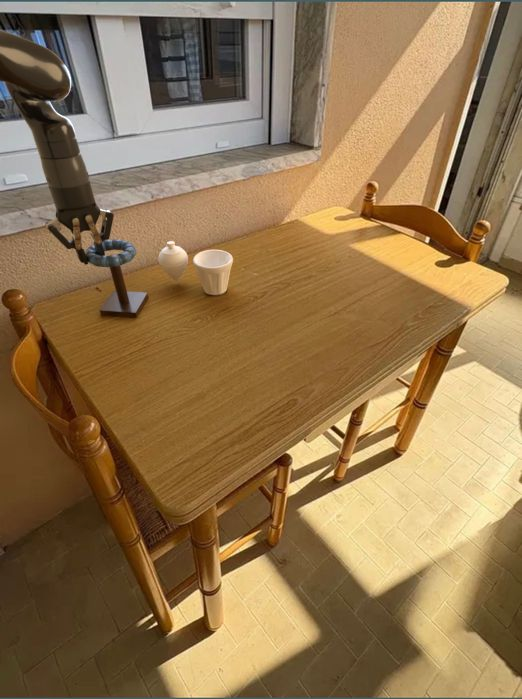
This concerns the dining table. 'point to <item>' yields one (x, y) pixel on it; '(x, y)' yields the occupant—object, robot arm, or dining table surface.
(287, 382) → the dining table surface
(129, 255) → the blue teething ring
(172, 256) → the spinning top
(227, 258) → the cup
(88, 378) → the dining table surface
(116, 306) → the stand
